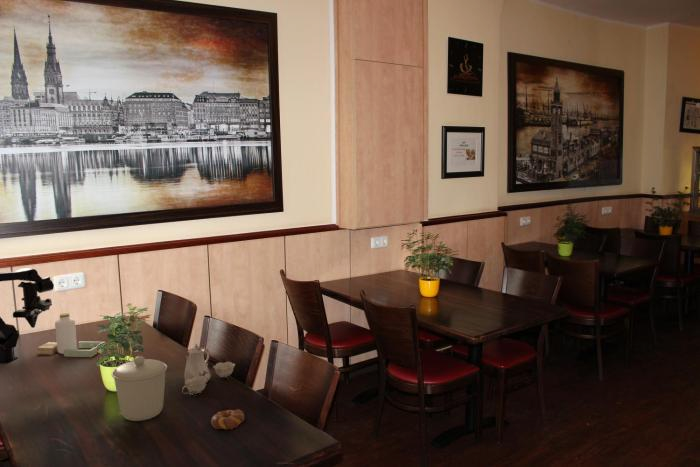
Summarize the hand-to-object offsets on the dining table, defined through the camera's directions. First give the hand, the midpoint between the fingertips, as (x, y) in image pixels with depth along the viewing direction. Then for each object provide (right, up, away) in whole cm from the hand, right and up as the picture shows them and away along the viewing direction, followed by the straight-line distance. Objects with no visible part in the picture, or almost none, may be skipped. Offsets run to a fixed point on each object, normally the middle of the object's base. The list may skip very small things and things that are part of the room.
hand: (33, 327), depth 267 cm
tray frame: (+25, -11, -1) cm, 28 cm away
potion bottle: (+16, -12, 0) cm, 20 cm away
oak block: (+8, -12, +1) cm, 14 cm away
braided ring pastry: (+108, -20, -76) cm, 134 cm away
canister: (+77, -19, -69) cm, 105 cm away
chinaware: (+91, -16, -42) cm, 102 cm away
